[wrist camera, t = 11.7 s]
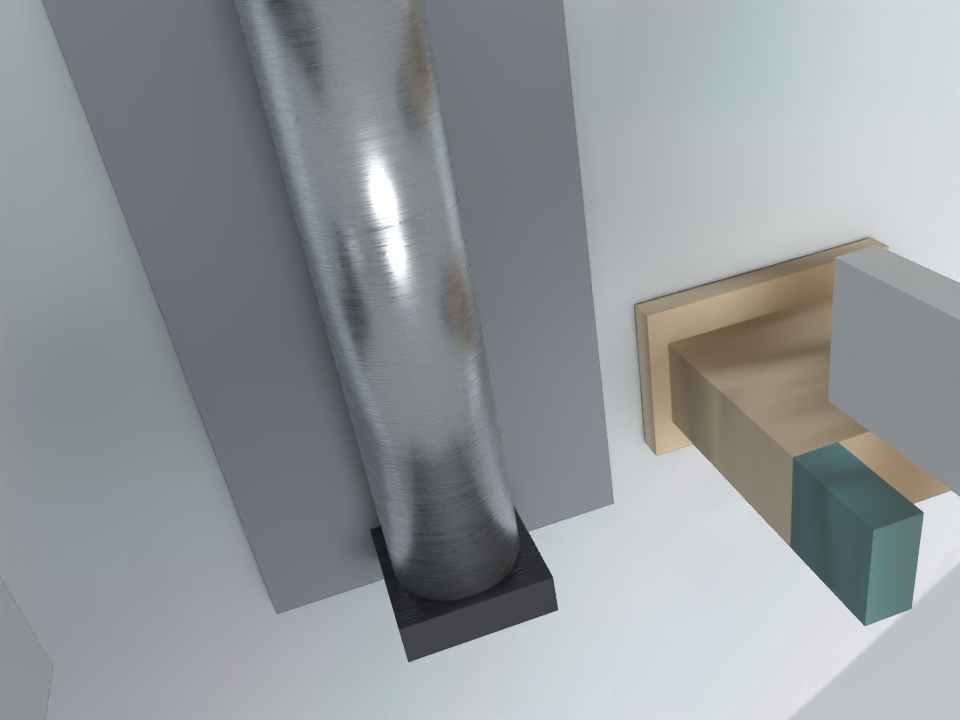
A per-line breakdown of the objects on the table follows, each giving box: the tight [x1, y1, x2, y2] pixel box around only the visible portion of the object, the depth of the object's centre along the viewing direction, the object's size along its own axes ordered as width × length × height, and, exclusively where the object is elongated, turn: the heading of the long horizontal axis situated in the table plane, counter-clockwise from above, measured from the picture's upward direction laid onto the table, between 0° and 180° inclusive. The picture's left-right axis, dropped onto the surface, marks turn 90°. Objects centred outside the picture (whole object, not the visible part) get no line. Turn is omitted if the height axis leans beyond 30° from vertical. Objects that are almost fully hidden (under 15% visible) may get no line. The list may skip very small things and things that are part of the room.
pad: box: [42, 0, 614, 614], centre depth 22 cm, size 11×22×1 cm, turn 9°
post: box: [635, 238, 951, 626], centre depth 23 cm, size 8×5×10 cm, turn 99°
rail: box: [234, 0, 558, 662], centre depth 20 cm, size 20×4×4 cm, turn 9°
